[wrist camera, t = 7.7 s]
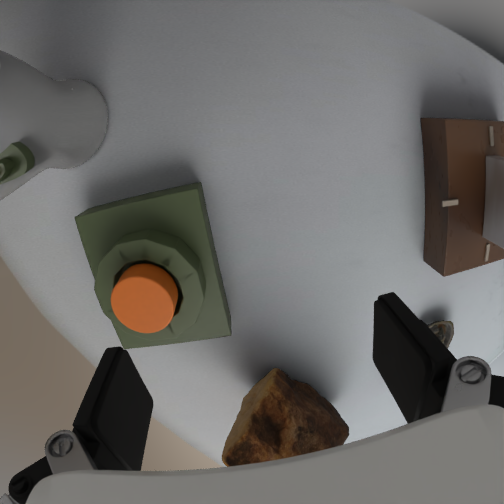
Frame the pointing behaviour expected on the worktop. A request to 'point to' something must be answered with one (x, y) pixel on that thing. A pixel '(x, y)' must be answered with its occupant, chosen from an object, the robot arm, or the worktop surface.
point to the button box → (159, 260)
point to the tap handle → (494, 201)
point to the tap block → (458, 191)
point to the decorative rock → (282, 422)
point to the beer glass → (45, 122)
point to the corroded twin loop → (443, 331)
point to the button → (144, 298)
